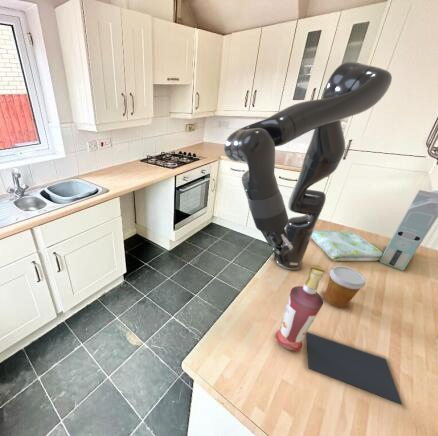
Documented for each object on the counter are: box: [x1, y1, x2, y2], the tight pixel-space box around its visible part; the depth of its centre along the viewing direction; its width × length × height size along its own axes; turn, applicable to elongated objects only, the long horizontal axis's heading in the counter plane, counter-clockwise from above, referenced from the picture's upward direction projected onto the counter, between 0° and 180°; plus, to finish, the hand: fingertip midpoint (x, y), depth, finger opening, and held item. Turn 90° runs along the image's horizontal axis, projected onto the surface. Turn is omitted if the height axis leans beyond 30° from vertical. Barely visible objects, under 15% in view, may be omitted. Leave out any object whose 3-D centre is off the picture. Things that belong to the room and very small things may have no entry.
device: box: [378, 189, 438, 272], centre depth 97 cm, size 16×8×30 cm, turn 129°
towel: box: [310, 230, 383, 262], centre depth 110 cm, size 18×21×5 cm
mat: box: [305, 331, 403, 405], centre depth 66 cm, size 19×12×1 cm, turn 63°
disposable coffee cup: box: [324, 265, 366, 309], centre depth 82 cm, size 10×10×12 cm
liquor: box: [275, 265, 325, 352], centre depth 65 cm, size 7×7×28 cm
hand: (283, 261), depth 65 cm, fingers closed
